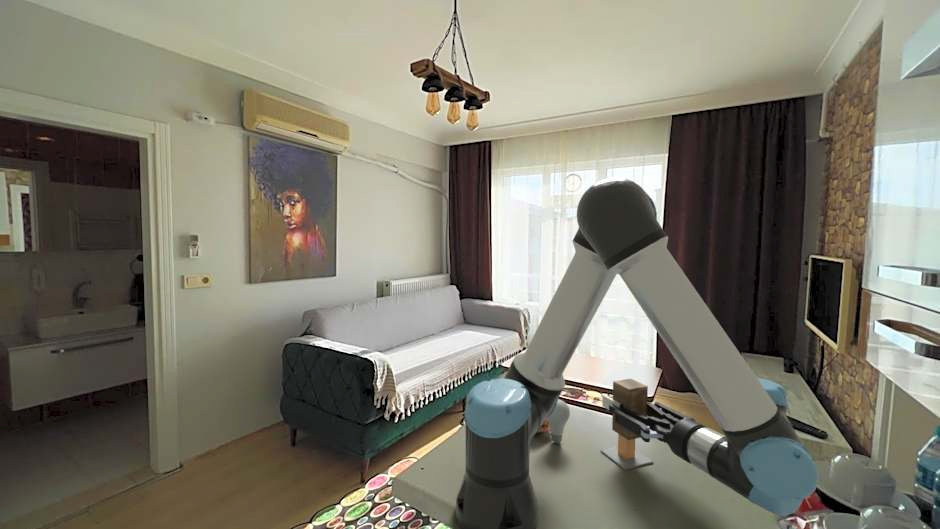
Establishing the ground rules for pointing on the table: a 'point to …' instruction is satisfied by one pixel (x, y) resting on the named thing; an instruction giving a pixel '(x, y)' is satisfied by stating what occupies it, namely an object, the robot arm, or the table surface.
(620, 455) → the grey square base plate
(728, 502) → the table surface
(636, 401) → the brown wooden block
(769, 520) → the table surface
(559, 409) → the lightbulb
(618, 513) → the table surface
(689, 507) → the table surface
